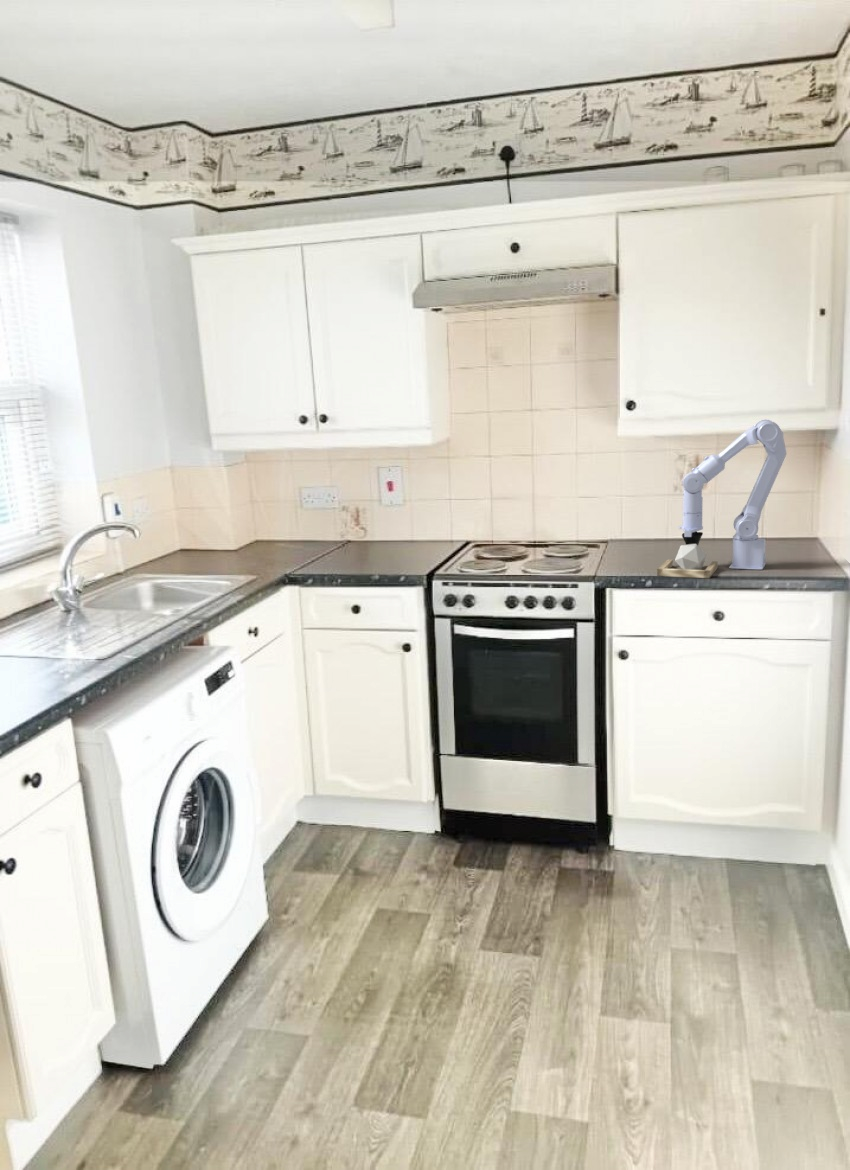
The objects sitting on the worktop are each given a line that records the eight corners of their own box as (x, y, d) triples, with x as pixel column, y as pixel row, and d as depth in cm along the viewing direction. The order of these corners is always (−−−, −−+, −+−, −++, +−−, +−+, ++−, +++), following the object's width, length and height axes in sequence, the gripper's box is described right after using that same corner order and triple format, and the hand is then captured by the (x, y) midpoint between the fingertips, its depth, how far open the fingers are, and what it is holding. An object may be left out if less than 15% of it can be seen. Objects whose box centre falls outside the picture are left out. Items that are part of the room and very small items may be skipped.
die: (704, 575, 269) (715, 547, 271) (679, 563, 268) (689, 534, 270) (691, 580, 277) (702, 552, 279) (667, 568, 276) (677, 540, 278)
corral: (717, 567, 275) (717, 561, 275) (709, 578, 263) (709, 571, 262) (667, 565, 282) (667, 559, 281) (657, 575, 269) (657, 569, 269)
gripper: (683, 508, 282) (683, 551, 285) (674, 515, 270) (673, 560, 273) (707, 508, 279) (706, 551, 282) (698, 516, 267) (697, 561, 270)
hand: (692, 556), depth 277 cm, fingers closed
